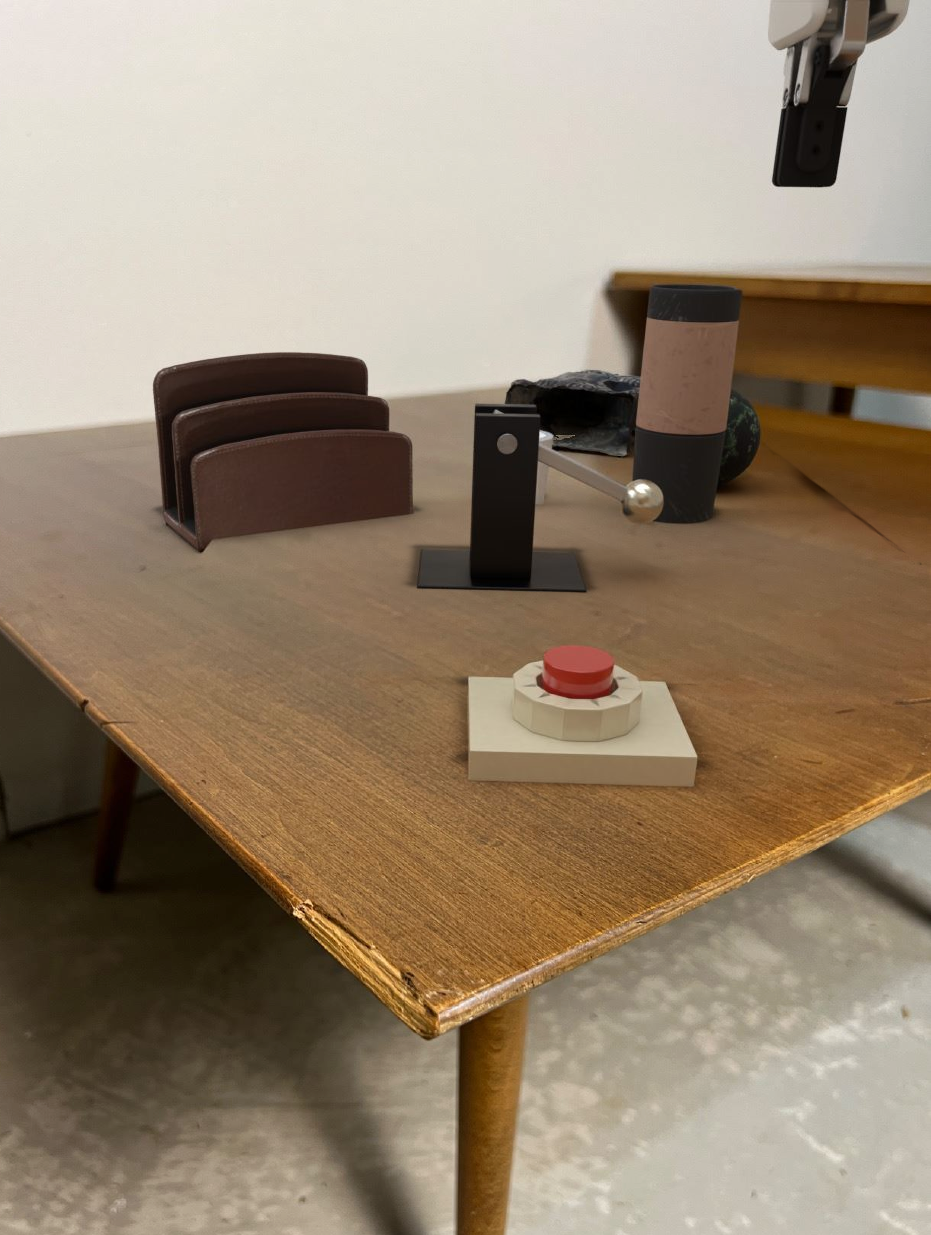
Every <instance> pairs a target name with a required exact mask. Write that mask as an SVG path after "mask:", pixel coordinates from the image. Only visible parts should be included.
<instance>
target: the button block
mask: <svg viewBox="0 0 931 1235" xmlns="http://www.w3.org/2000/svg"><path fill="white" fill-rule="evenodd" d="M542 670H543V659H542V660H539V661H534V662H529V663H526V664H525V665H524V666H522V667H521V668H520V669H518V670H517V671H515V672H514V673H513V675H512V677H502V676H501V677H500V676H499V677H497V676H468V677H467V698H466V699H467V701H466V702H467V704H466V706H467V708H466V709H467V713H466V714H467V761H468V762H467V768H468V769H467V770H468V772H467V773H468V774H467V776H468V777H467V778H468V781H473V782H474V781H475V782H476V781H477V782H478V781H479V782H506V783H507V782H508V783H509V782H510V783H511V782H512V783H542V784H543V783H544V784H547V783H548V784H575V785H577V784H579V785H582V784H583V785H611V786H612V785H613V786H615V785H617V786H645V787H647V786H648V787H677V788H679V787H682V788H683V787H684V788H694V787H695V780H696V774H697V765H698V758H699V757H698V754H697V752H696V750H695V747H694V745H693V743H692V741H691V738H690V736H689V734H688V731H687V729H686V727H685V725H684V722H683V720H682V717H681V715H680V712H679V710H678V709H677V708H678V707H677V706H676V703H675V701H674V699H673V697H672V695H671V692H670V691H669V688H668V685H667V683H666V681H654V680H651V681H650V680H639V678H638V677H637V675H634V674H633V673H631V672H629V671H627V670H626V669H624V668H622V667H620V666H618V665H616V664H614V673H613V683H612V692H611V694H610V696H605V697H601V698H597V699H569V698H565V697H561V696H557V695H553V694H549V693H548V692H546V691H545V690H543V689H542V687H541V685H542Z"/></svg>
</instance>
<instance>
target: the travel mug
mask: <svg viewBox="0 0 931 1235" xmlns="http://www.w3.org/2000/svg"><path fill="white" fill-rule="evenodd" d="M743 293H744V291H743V289H740V288H739V289H738V288H737V287H735V286H730V285H720V284H698V283H695V284H694V283H666V284H665V283H663V284H662V283H661V284H653V285H651V286H650V287H649V293H648V303H647V304H648V305H647V313H646V316H647V317H646V323H645V334H644V343H643V352H642V361H641V372H640V377H641V380H640V390H639V399H638V409H637V419H636V425H637V426H636V430H634V448H633V462H632V463H633V464H632V480H631V482H633V481H635V480H640V479H644V480H649V481H652V482H653V483H655V484H656V485H657V486H658V487H659V488H660V489H661V491H662V494H663V497H664V505H663V509H662V511H661V513H660V514H659V516H658V517H657V518H656V519H655V520H653V521H652V522H655V523H662V524H678V525H688V524H698V523H704V522H707V521H709V520H711V519H712V518H713V513H714V508H715V501H716V495H717V488H718V486H717V483H718V477H719V471H720V464H721V458H722V452H723V446H724V439H725V433H726V431H725V430H726V426H727V418H728V409H729V401H730V392H731V389H732V383H733V375H734V368H735V366H734V365H735V357H736V351H737V350H736V349H737V341H738V331H739V325H740V324H739V323H740V315H741V306H742V300H743Z"/></svg>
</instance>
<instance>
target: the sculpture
mask: <svg viewBox="0 0 931 1235" xmlns="http://www.w3.org/2000/svg"><path fill="white" fill-rule="evenodd" d="M640 380H641V376H638V375H634V374H633V375H629V374H619V373H612V372H609V371H606V370H605V371H604V370H601V369H584V370H581V371H566V372H564V373H562V374H559V375H557V376H554V377H549V378H540V379H539V380H537V381H531V380H528V379H525V378H521V379H520V378H519V379H515V380H514V381H511V383H510V387H509V388H508V390H507V391H506V394H505V399H504V404H524V405H536V407H537V410H536V414H539V415H540V430H541V431H545V432H548V433H551V434H552V435H553V437H557V438H559V437H558V436H556V435H575V436H572V437H570V438H564V439H562V440H557V439H556V440H553V443H552V449H553V448H555V447H560V448H568V449H571V450H580V451H588V452H600V453H604V454H607V455H608V456H615V457H617V456H621V457H625V456H627V455H629V454H630V453H631V451H632V442H633V438H632V437H633V436H632V433H633V431H636V426H637V425H636V419H637V409H638V399H639V390H640Z"/></svg>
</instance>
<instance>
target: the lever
mask: <svg viewBox="0 0 931 1235" xmlns="http://www.w3.org/2000/svg"><path fill="white" fill-rule="evenodd" d="M493 414H504V413H502V412H500V411H498V410H494V412H493ZM538 461H540V462H542V463H544V464H546V465H548V466H549V468H552V469H554V470H556V471H558V472H560V473H562V474H564V475H566V476H569V477H571V478H572V479H575V480H577V481H579V482H581V483H583V484H585V485H586V486H588V487H591V488H593V489H595V490H597V491H599V492H601V493H604V494H606V495H608V496H610V497H611V498H614V499H616V500H618V509H619V511H620V513H621V515H622V517H624V518H625V520H626V521H628V522H630V523H632V524H635V525H646V524H649V523H652V522H654V521H653V520H655V519H656V518H657V517H658V516H659V514H660V513H661V511H662V509H663V505H664V497H663V494H662V491H661V489H660V488H659V487H658V486H657V485H656V484H655V483H653V482H652V481H649V480H644V479H640V480H635V481H633V482H632V481H631V482H629V483H628V484H627V485H626V484H624V483H622V482H620V481H618V480H616V479H613V478H612V477H609V476H607V475H605V474H603V473H601V472H600V471H597V470H596V469H594V468H591V467H589V466H587V465H585V464H583V463H581V462H579V461H577V460H575V459H572V458H571V457H569V456H566V455H564V454H562V453H560V452H559V451H556V450H555V449H553V448H552V449H550V448H548V447H546V446H544V445H542V444H540V443H539V451H538Z"/></svg>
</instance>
